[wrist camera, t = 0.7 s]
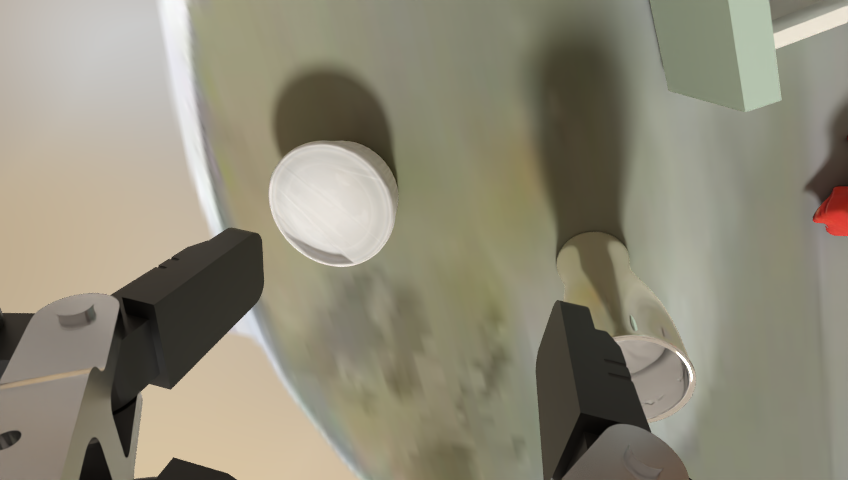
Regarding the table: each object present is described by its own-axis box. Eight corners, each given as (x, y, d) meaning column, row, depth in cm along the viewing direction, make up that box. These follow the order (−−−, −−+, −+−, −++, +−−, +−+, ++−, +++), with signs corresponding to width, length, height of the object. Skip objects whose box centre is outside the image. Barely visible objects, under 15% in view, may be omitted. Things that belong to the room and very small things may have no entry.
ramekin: (291, 224, 42) (263, 246, 37) (302, 115, 37) (270, 124, 32) (395, 257, 41) (378, 284, 36) (420, 150, 36) (405, 165, 31)
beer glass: (544, 288, 39) (556, 413, 26) (559, 220, 36) (582, 322, 22) (622, 301, 38) (676, 438, 24) (644, 232, 35) (721, 346, 21)
